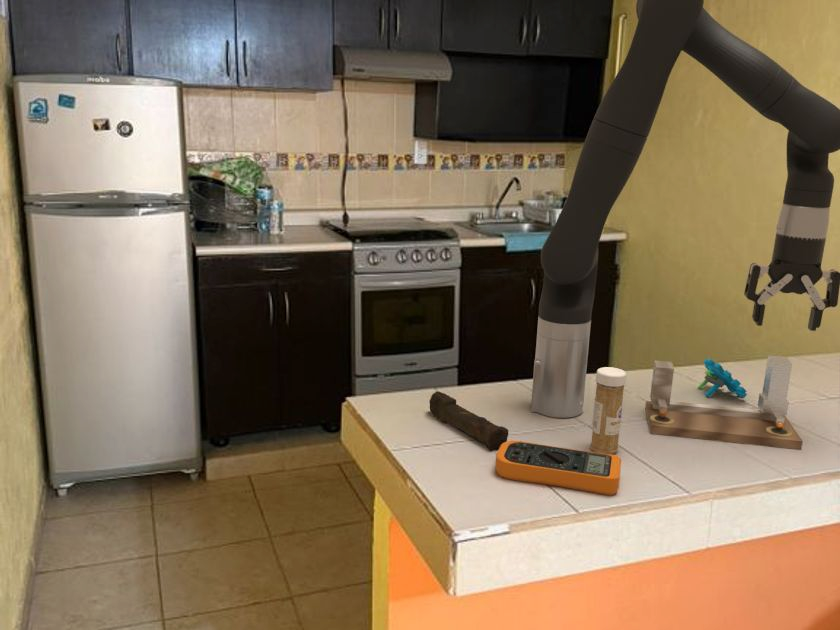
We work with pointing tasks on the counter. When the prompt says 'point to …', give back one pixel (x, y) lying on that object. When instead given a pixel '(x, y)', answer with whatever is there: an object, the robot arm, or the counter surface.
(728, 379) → the blue branching piece
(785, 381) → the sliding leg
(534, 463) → the multimeter
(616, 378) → the sprinkles bottle
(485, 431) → the dark brown rod
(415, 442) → the counter surface
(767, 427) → the plate
